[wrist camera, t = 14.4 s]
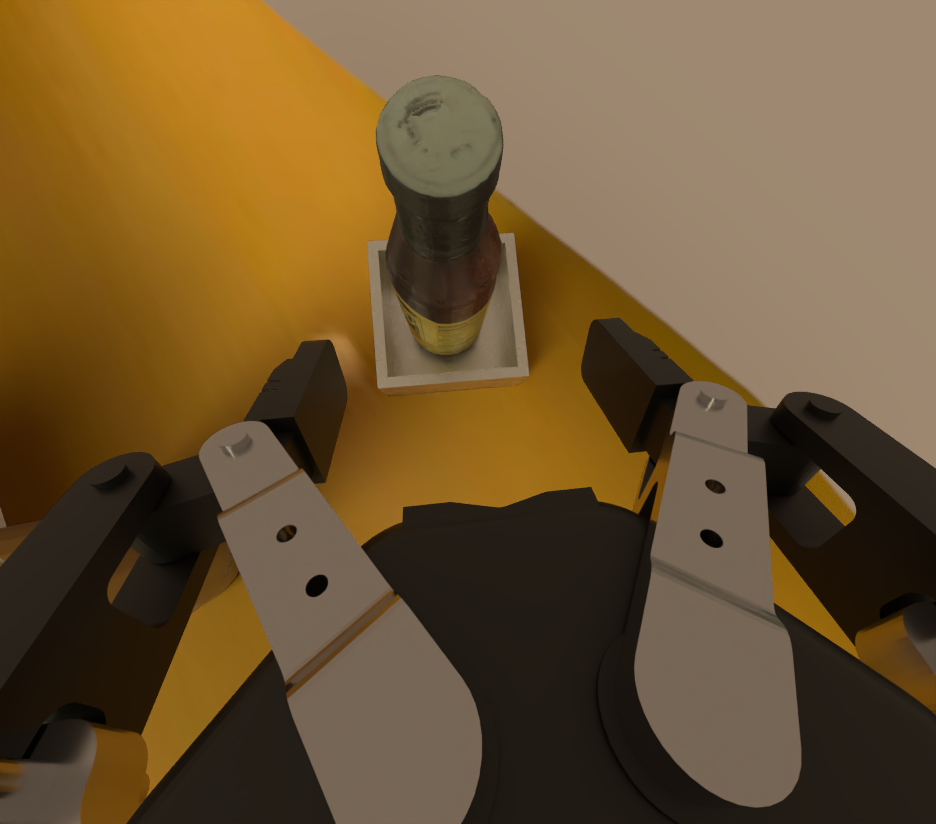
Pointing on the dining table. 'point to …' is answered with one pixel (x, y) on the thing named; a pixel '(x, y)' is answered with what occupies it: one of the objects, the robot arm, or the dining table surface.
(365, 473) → the dining table surface
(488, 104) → the sauce bottle
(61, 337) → the dining table surface
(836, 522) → the robot arm
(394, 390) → the tray
